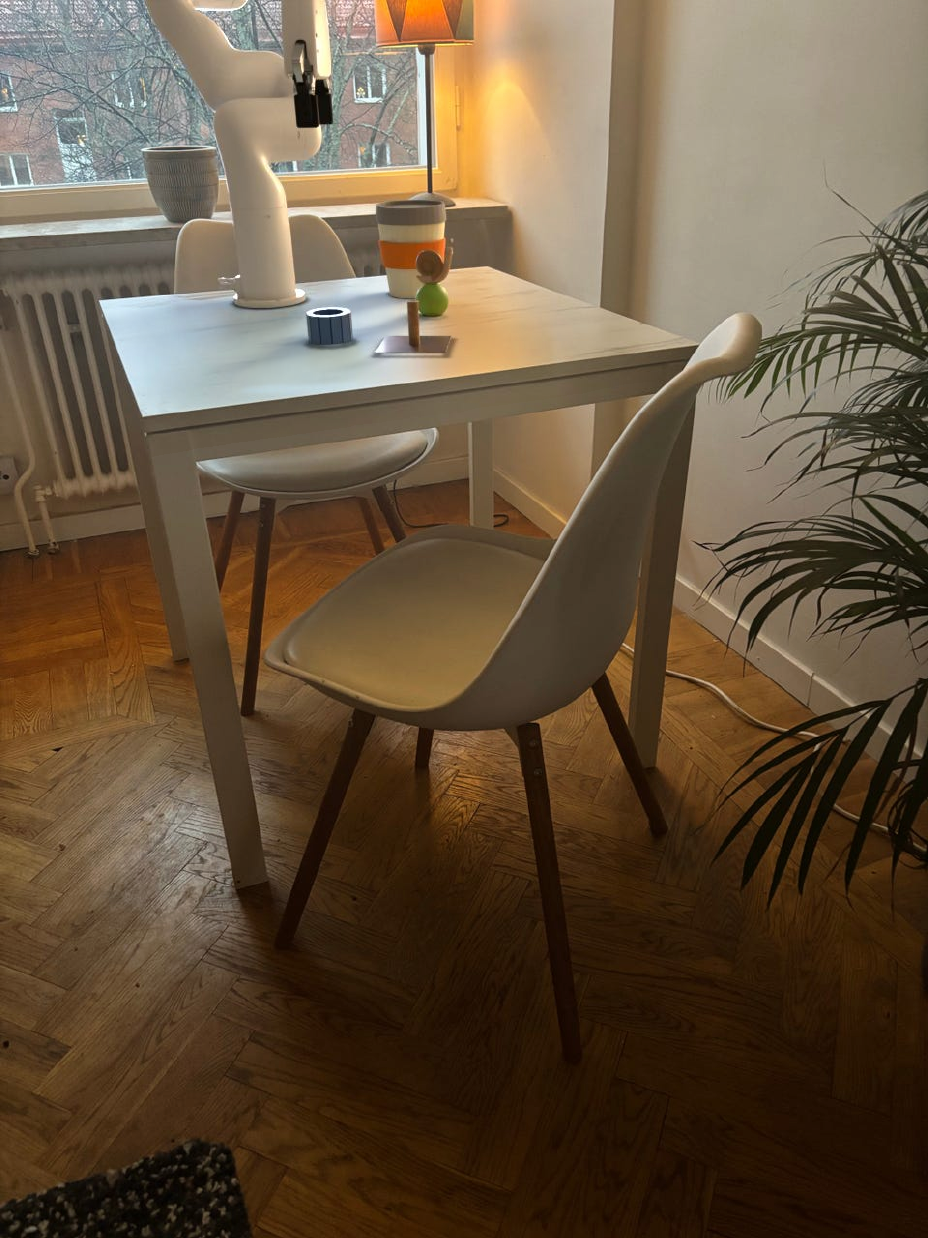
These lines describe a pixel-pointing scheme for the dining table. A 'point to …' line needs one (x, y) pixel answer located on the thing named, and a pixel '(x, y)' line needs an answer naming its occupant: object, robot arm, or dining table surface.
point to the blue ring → (329, 326)
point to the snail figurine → (433, 281)
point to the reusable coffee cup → (408, 240)
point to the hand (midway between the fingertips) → (315, 125)
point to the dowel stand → (414, 337)
